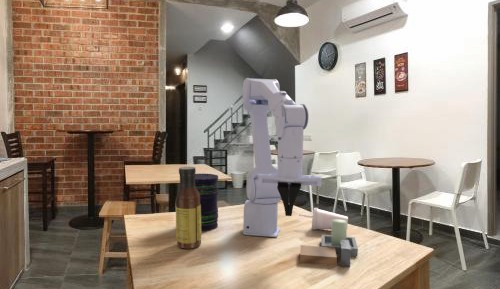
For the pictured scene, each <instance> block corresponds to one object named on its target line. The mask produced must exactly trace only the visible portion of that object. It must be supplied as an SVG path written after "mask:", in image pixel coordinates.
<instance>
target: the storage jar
mask: <svg viewBox="0 0 500 289" xmlns="http://www.w3.org/2000/svg"><path fill="white" fill-rule="evenodd" d="M195 187H196V188H197V189H198V191H199V194H200V204H201V232H209V231H213V230H216V229H217V228H218V226H219V225H218V220H219V208H218V195H219V175H217V174H213V173H195Z"/></svg>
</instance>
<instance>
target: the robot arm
mask: <svg viewBox="0 0 500 289" xmlns="http://www.w3.org/2000/svg"><path fill="white" fill-rule="evenodd" d="M241 93H242V94H241V95H242V104H243V108H244V110H245V111H247V112H248V114H249V117H250V124H251V126H250V127H251V134H252V136H251V137H252V144H253V145H252V146H253V156H254V167H253V168H252V169H251V170H250V171H249V172H248V173H247V175H246V187H245V189H246V190H245V191H246V196H247V198H248V199H249V200H248V199H247V200H245V202H244V206H243V228H242V229H243V232H242V235H245V236H246V235H247V236H259V237H270V238H277V237H278V235H279V233H280V229H281V227H280V226H278V218H279V217H278V215H279V213H278V212H279V203H280V202H281V200H282V204H283V208H284V213H285V214H284V215H285V217H292V215H293V209H294V205H295V201H296V200H297V196H298V194H299V193H300V190H301V189H302V186H316V187H322V183H323V182H322V179H323V177H322V176H317V175H315V176H314V175H306V174H303V164H304V163H303V160H304V159H303V155H304V130H305V129H307V127H308V124H309V116H310V115H309V111H308V107H307V106H306V104H304V103H303V104H302V103H301V104H297V103H296V102H295V101H294V100H293V99H292V98H291V97H290V95H288V93H287V92H286V91H284V90H281V89H280V83H279V81H278V80H277V78H273V79H270V78H269V79H266V78H249V77H246V78H245V79H244V80H243V83H242V92H241ZM269 112H271V113H272V115H273V116H274V124H275V130H276V132H275V133H276V137H277V140H278V141H277V167H275V166H274V165H273V162H272V151H271V145H270V144H271V142H270V136H269V135H270V132H269V125H268V113H269Z"/></svg>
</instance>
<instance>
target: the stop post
mask: <svg viewBox="0 0 500 289" xmlns="http://www.w3.org/2000/svg"><path fill="white" fill-rule="evenodd" d="M351 257H352V256H351V248H350V243H349V240H341V239H340V254H339V264H340V267H346V268H351Z"/></svg>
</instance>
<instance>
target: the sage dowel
mask: <svg viewBox="0 0 500 289" xmlns="http://www.w3.org/2000/svg"><path fill="white" fill-rule="evenodd" d="M347 230H348V225H347V221H345V220H340V219H335V220H332V229H331V235H332V236H331V246H340V239H341V240H346V237H347V233H348V232H347Z"/></svg>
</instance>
